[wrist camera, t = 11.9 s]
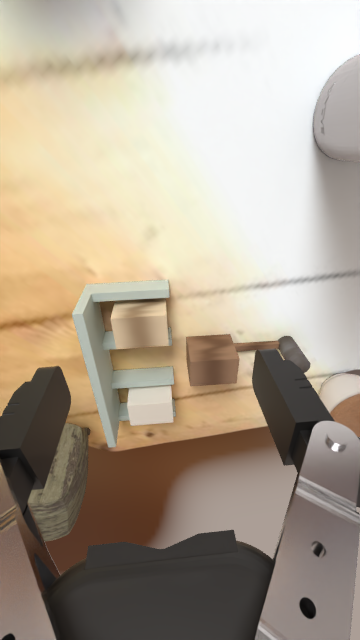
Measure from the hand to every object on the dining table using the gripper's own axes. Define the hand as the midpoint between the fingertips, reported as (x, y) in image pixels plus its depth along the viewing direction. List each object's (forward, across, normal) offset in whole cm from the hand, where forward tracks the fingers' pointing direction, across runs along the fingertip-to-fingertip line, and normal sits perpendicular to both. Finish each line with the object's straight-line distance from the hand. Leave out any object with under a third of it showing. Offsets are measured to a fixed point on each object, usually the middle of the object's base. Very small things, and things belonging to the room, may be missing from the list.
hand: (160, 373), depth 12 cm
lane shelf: (+27, +4, +20) cm, 34 cm away
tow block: (+27, -12, +21) cm, 36 cm away
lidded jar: (+27, -32, +32) cm, 53 cm away
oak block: (+27, +3, +12) cm, 30 cm away
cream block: (+27, +3, +28) cm, 40 cm away
